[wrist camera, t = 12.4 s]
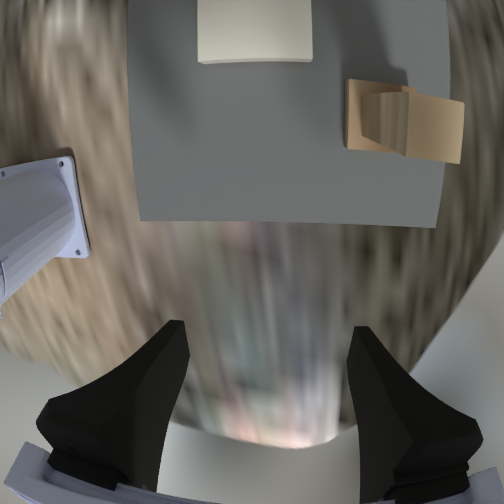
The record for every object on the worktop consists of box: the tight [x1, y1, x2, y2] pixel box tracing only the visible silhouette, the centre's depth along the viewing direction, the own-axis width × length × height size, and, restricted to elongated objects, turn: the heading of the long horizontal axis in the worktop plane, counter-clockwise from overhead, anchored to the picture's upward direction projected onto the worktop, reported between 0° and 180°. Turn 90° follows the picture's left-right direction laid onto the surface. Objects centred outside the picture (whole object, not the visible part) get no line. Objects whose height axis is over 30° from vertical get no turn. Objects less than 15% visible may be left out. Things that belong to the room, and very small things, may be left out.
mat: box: [127, 0, 450, 228], centre depth 17 cm, size 20×18×1 cm
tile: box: [197, 0, 313, 64], centre depth 14 cm, size 6×2×6 cm
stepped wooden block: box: [344, 79, 464, 164], centre depth 13 cm, size 4×4×8 cm
